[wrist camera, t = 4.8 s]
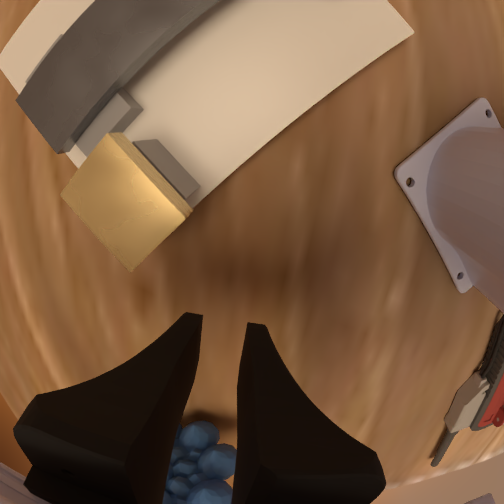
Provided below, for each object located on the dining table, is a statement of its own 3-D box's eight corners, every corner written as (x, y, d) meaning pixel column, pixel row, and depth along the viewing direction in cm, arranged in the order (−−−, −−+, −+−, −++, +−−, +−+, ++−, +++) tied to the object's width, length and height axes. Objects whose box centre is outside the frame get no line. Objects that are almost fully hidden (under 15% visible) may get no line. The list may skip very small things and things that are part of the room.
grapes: (126, 441, 24) (89, 545, 13) (97, 393, 21) (39, 510, 10) (249, 449, 23) (242, 574, 12) (239, 399, 21) (225, 557, 9)
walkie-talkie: (477, 308, 18) (421, 458, 25) (510, 342, 14) (432, 488, 21) (546, 289, 17) (482, 435, 24) (576, 314, 13) (496, 461, 20)
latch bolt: (194, 210, 11) (186, 218, 10) (141, 260, 12) (130, 272, 11) (121, 132, 10) (106, 132, 9) (76, 188, 11) (59, 194, 10)
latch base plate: (402, 39, 12) (442, 17, 8) (159, 238, 16) (129, 271, 12) (207, -113, 8) (197, -150, 4) (10, 63, 13) (-35, 58, 9)
